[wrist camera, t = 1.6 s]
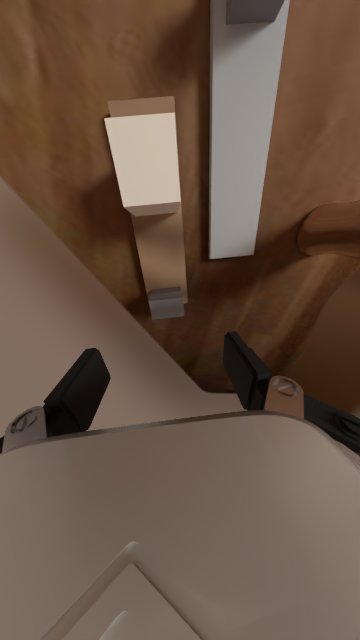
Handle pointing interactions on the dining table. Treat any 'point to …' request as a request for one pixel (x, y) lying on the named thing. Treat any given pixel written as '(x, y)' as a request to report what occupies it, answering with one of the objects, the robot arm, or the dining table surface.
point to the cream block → (146, 162)
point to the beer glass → (331, 230)
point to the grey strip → (241, 116)
